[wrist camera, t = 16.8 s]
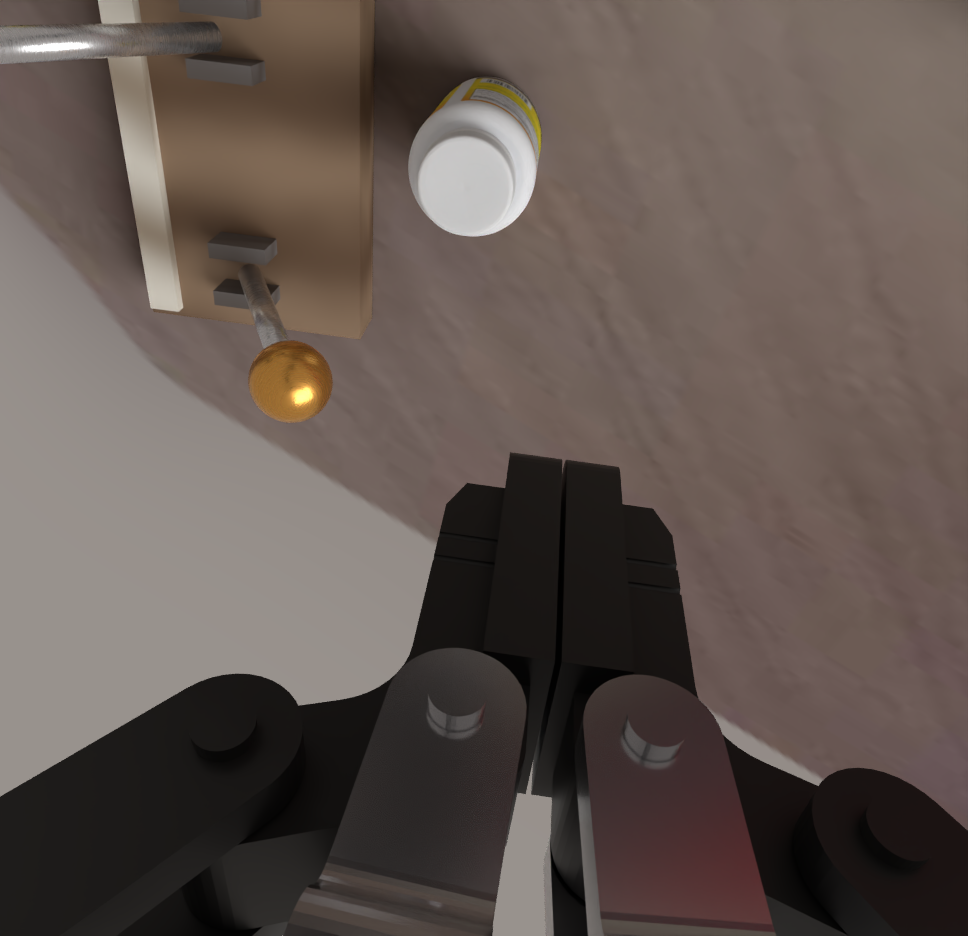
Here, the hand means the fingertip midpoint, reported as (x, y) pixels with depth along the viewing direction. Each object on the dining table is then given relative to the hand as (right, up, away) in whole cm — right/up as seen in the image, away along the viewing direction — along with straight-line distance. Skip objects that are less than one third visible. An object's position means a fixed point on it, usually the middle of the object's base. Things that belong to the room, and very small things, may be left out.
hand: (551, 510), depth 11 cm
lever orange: (-14, +11, +30) cm, 35 cm away
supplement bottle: (-1, +18, +28) cm, 33 cm away
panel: (-12, +21, +28) cm, 37 cm away
